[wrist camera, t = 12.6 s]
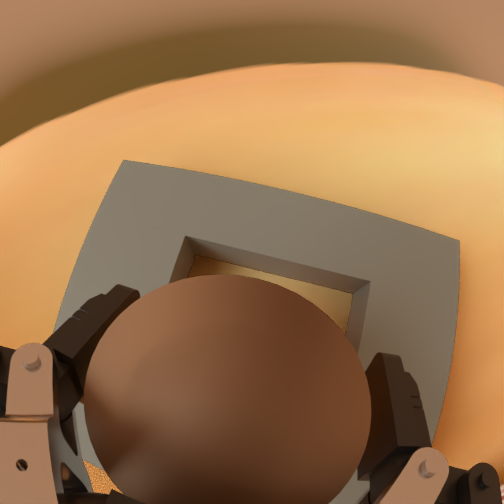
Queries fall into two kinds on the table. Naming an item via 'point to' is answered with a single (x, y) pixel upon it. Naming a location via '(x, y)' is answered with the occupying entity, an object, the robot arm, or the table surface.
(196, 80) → the table surface
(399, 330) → the grey rectangular frame
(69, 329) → the robot arm
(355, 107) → the table surface
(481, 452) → the table surface
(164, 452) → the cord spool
